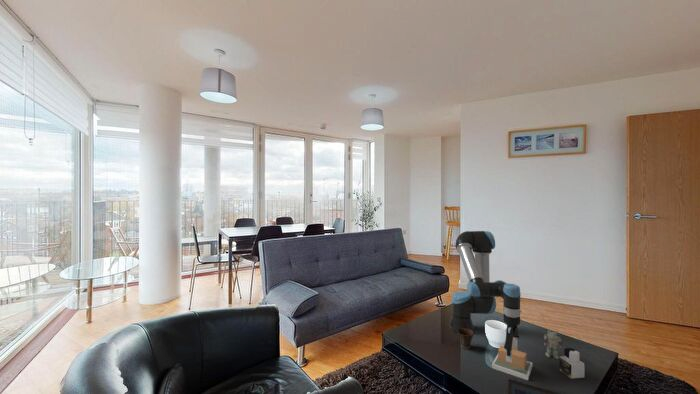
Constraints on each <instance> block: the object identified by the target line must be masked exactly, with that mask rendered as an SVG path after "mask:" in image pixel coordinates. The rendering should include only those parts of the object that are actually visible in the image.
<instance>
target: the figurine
mask: <svg viewBox="0 0 700 394" xmlns="http://www.w3.org/2000/svg"><path fill="white" fill-rule="evenodd" d="M543 339H544V343H543V345H544V346H546V352H545V353H544V354H545V356H546V357H547V358H550V357H551V353H552V352H553V355H552V356H553V358H554V359H556V360H558V359H559V360H560V356H559V353H558V352H559V351H558V348H559V349H561V348H562V346H561V345H562V338H561V336H560V335H558V330H555V331H552V330H550V329H547V332H546V333H544V334H543Z"/></svg>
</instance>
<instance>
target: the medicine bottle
mask: <svg viewBox="0 0 700 394" xmlns="http://www.w3.org/2000/svg"><path fill="white" fill-rule="evenodd" d="M563 352H564V353H563V354H564V355H561V356H559V371H560V372H562V373H563V374H564V375H566V376H567V377H568V378H570V379H582V378H585V362H583V361H581V360H580V351H578V350H577V349H575V348H573V347H565V348H564V349H563Z"/></svg>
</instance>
